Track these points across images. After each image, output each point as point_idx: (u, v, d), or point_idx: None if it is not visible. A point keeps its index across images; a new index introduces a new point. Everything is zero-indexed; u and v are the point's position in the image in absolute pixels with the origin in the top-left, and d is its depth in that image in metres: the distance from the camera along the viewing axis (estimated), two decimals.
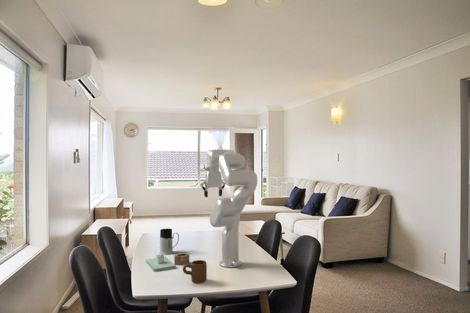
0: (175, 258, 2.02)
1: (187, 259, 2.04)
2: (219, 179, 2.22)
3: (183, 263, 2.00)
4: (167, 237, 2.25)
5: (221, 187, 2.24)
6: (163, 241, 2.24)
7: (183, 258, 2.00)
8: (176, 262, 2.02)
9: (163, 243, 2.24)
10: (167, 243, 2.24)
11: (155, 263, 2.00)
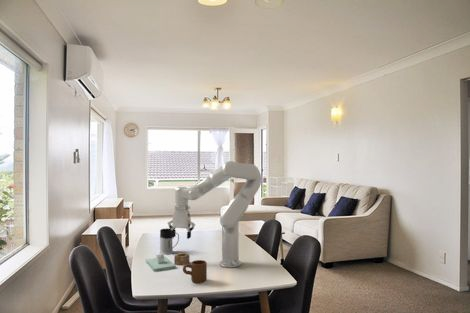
0: (175, 258, 2.02)
1: (187, 259, 2.04)
2: None
3: (183, 263, 2.00)
4: (167, 237, 2.25)
5: None
6: (163, 241, 2.24)
7: (183, 258, 2.00)
8: (176, 262, 2.02)
9: (163, 243, 2.24)
10: (167, 243, 2.24)
11: (155, 263, 2.00)
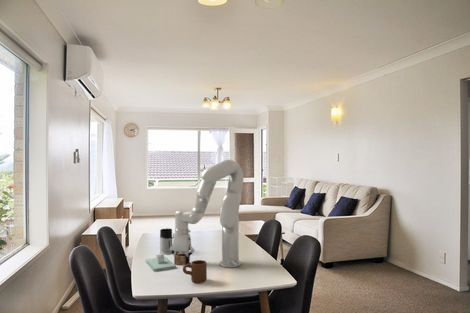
0: (175, 258, 2.02)
1: None
2: None
3: (183, 263, 2.00)
4: (167, 237, 2.24)
5: None
6: (163, 241, 2.24)
7: (183, 258, 2.00)
8: (176, 262, 2.02)
9: (163, 243, 2.24)
10: (167, 243, 2.24)
11: (155, 263, 2.00)
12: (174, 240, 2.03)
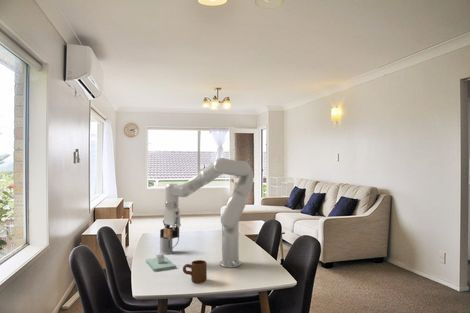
0: (164, 230, 2.03)
1: None
2: None
3: (169, 236, 1.99)
4: None
5: (169, 225, 2.07)
6: (163, 241, 2.24)
7: (169, 231, 1.99)
8: (164, 234, 2.02)
9: (163, 243, 2.24)
10: (167, 243, 2.24)
11: (155, 263, 2.00)
12: (164, 213, 2.04)
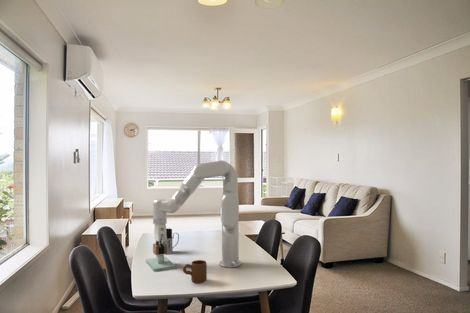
0: (153, 246, 2.02)
1: None
2: None
3: (155, 252, 1.98)
4: (167, 237, 2.25)
5: (160, 240, 2.06)
6: None
7: (155, 247, 1.98)
8: (153, 250, 2.02)
9: None
10: (167, 243, 2.24)
11: (155, 263, 2.00)
12: None
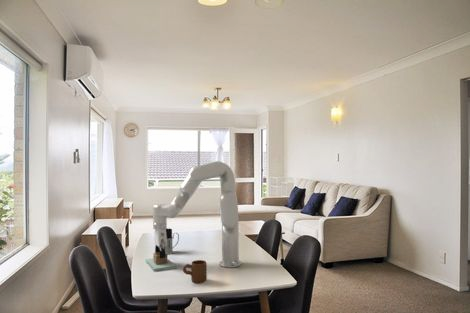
0: (153, 255, 2.02)
1: (162, 259, 1.99)
2: None
3: (155, 262, 1.98)
4: (167, 237, 2.24)
5: None
6: None
7: (155, 257, 1.98)
8: (154, 259, 2.02)
9: None
10: (167, 243, 2.24)
11: None
12: None
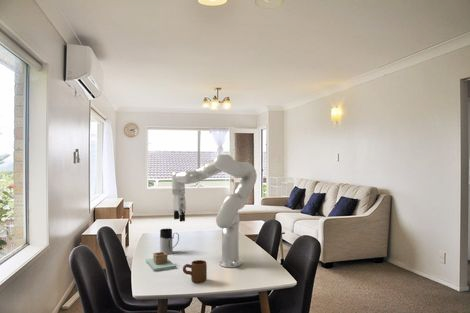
0: (153, 255, 2.02)
1: (162, 259, 1.99)
2: None
3: (155, 262, 1.98)
4: (167, 237, 2.25)
5: None
6: (163, 241, 2.24)
7: (155, 257, 1.98)
8: (154, 259, 2.02)
9: (163, 243, 2.24)
10: (167, 243, 2.24)
11: None
12: (173, 199, 2.16)
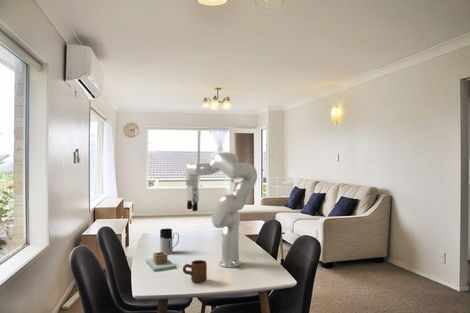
0: (153, 255, 2.02)
1: (162, 259, 1.99)
2: None
3: (155, 262, 1.98)
4: (167, 237, 2.24)
5: None
6: (163, 241, 2.24)
7: (155, 257, 1.98)
8: (154, 259, 2.02)
9: (163, 243, 2.24)
10: (167, 243, 2.24)
11: None
12: (187, 190, 2.26)
